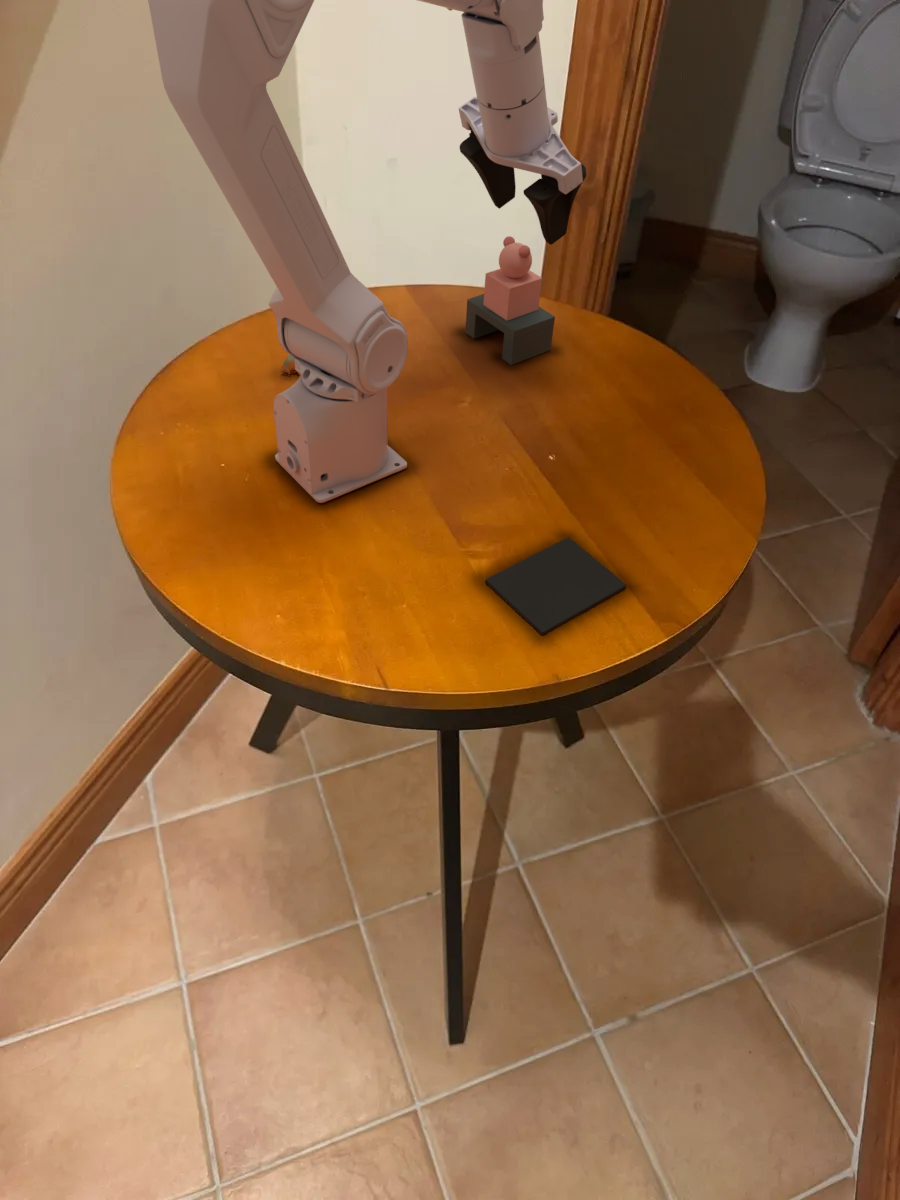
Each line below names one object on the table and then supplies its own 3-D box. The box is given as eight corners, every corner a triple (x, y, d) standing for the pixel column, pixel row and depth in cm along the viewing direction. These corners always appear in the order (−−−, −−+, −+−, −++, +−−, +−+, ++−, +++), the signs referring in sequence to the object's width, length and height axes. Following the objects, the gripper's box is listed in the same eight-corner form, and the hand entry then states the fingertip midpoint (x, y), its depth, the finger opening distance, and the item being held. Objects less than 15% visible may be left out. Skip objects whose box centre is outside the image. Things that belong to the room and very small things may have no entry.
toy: (506, 321, 94) (513, 254, 89) (482, 305, 96) (487, 238, 91) (538, 310, 96) (546, 243, 91) (514, 294, 98) (521, 229, 93)
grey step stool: (511, 365, 96) (514, 331, 93) (465, 332, 100) (467, 299, 97) (550, 350, 98) (555, 316, 95) (503, 319, 102) (507, 285, 100)
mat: (542, 635, 69) (542, 632, 69) (484, 582, 73) (485, 579, 72) (626, 588, 73) (627, 584, 73) (567, 540, 77) (568, 536, 76)
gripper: (605, 94, 72) (613, 229, 84) (492, 30, 79) (513, 164, 91) (539, 143, 71) (556, 273, 83) (429, 74, 78) (459, 203, 90)
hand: (530, 219), depth 87 cm, fingers open, 7 cm apart
